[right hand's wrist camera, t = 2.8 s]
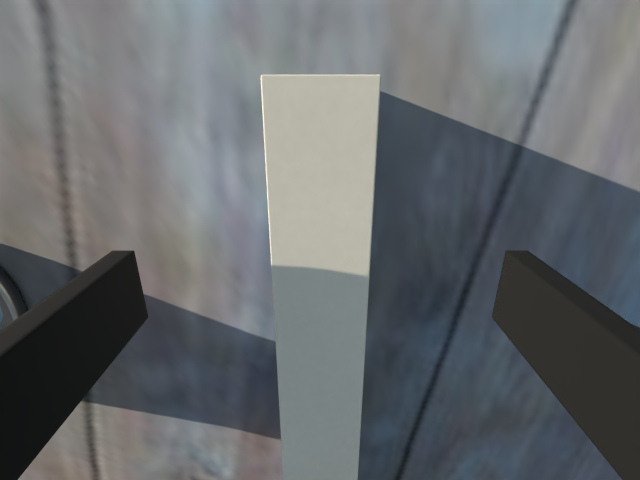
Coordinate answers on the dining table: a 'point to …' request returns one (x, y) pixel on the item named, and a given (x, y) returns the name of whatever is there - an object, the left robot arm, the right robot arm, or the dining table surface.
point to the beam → (320, 261)
